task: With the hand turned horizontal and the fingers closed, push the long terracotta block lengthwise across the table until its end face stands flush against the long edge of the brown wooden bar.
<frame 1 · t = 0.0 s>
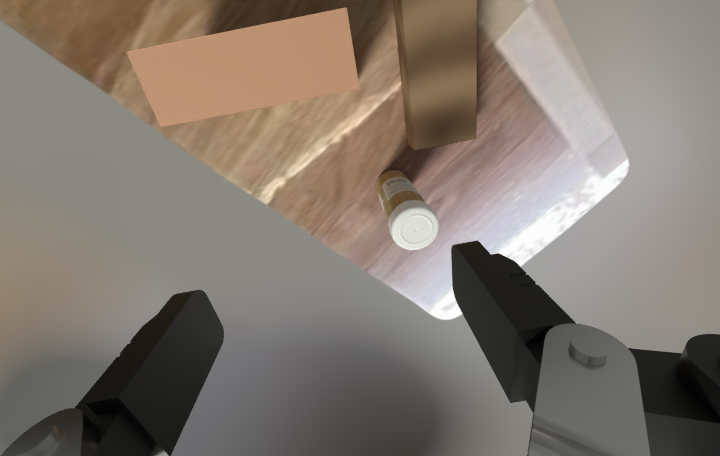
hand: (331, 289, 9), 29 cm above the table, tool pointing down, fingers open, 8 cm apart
brown wooden bar: (430, 56, 32), on the table
sprinkles bottle: (392, 185, 39), on the table
block: (279, 76, 32), on the table
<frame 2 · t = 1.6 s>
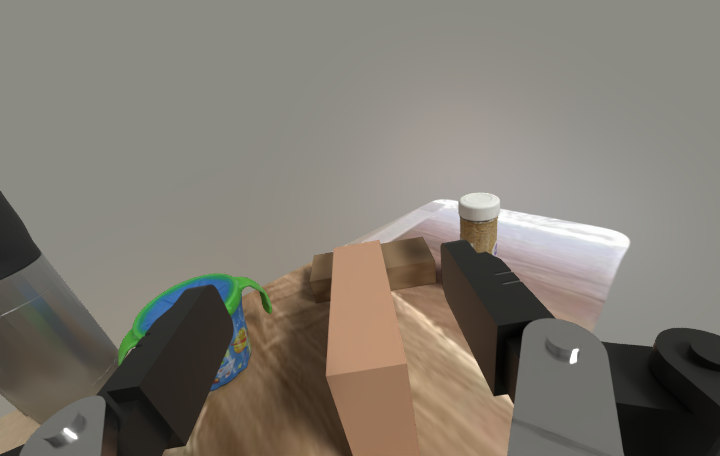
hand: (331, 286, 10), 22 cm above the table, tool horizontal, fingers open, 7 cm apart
snack cup: (223, 365, 36), on the table
brown wooden bar: (373, 278, 46), on the table
sprinkles bottle: (477, 289, 40), on the table
block: (378, 377, 31), on the table
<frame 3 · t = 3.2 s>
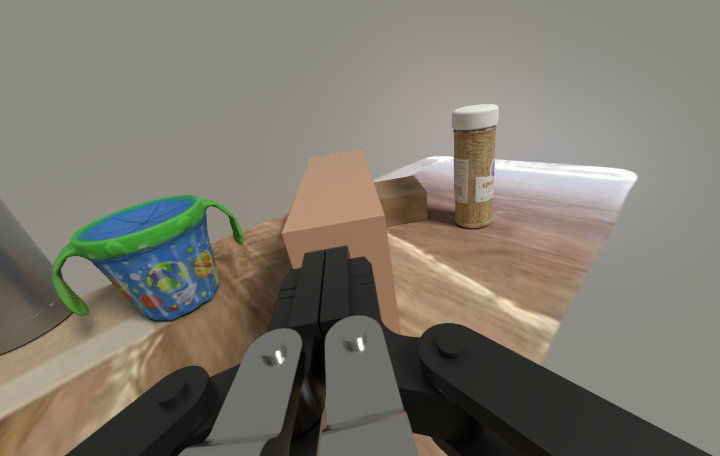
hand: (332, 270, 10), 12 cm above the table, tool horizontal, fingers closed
snack cup: (187, 299, 32), on the table
brown wooden bar: (360, 219, 42), on the table
sprinkles bottle: (472, 222, 37), on the table
block: (361, 300, 27), on the table
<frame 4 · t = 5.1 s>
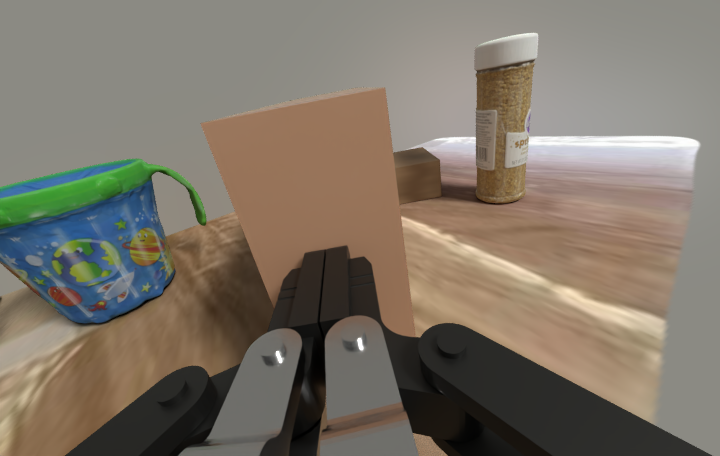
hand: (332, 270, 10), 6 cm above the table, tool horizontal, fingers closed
snack cup: (131, 296, 24), on the table
brown wooden bar: (357, 200, 35), on the table
sprinkles bottle: (499, 197, 29), on the table
block: (356, 281, 20), on the table, touching gripper
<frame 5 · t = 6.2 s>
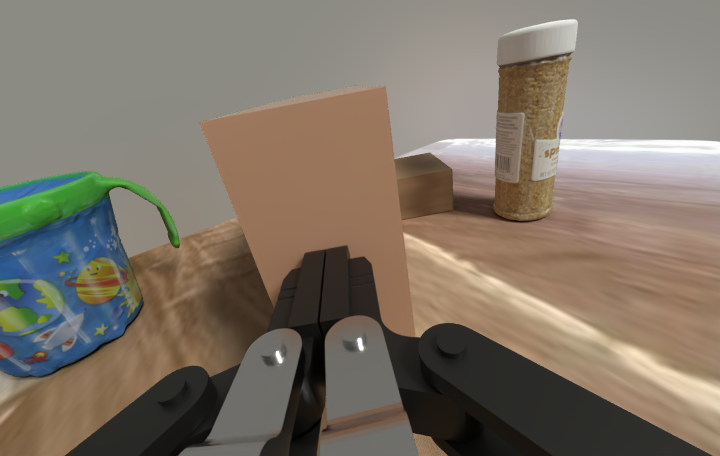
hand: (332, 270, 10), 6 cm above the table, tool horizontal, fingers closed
snack cup: (88, 335, 20), on the table
brown wooden bar: (357, 212, 31), on the table
sprinkles bottle: (520, 213, 25), on the table
block: (354, 279, 20), on the table, touching brown wooden bar, gripper
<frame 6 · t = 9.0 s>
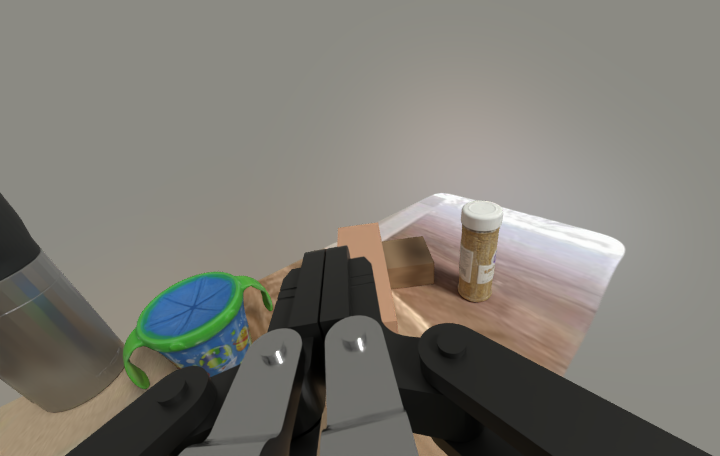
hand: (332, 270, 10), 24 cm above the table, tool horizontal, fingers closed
snack cup: (225, 359, 37), on the table
brown wooden bar: (372, 276, 47), on the table
sprinkles bottle: (473, 292, 41), on the table
block: (373, 337, 37), on the table
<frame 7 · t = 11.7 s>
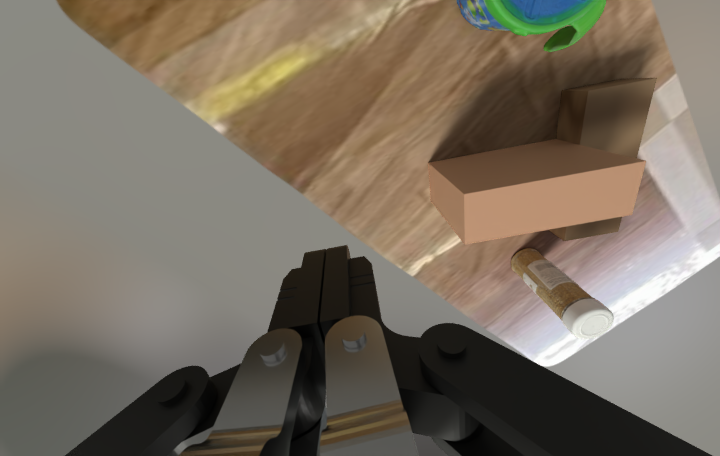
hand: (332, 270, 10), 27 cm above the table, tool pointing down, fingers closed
brown wooden bar: (579, 161, 37), on the table
sprinkles bottle: (523, 259, 44), on the table
block: (490, 170, 37), on the table
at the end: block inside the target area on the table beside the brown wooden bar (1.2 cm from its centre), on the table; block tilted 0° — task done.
